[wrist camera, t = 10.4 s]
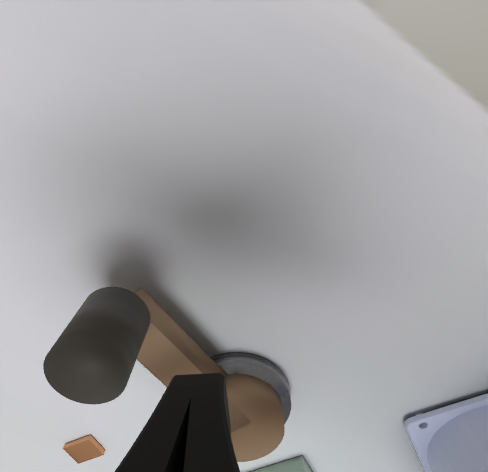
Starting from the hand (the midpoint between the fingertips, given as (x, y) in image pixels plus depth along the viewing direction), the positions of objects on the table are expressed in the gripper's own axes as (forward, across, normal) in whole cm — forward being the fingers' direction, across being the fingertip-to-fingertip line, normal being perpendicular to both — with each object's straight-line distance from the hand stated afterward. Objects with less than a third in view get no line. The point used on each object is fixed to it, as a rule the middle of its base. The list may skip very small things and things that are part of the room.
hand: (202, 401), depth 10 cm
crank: (+8, +2, +6) cm, 10 cm away
